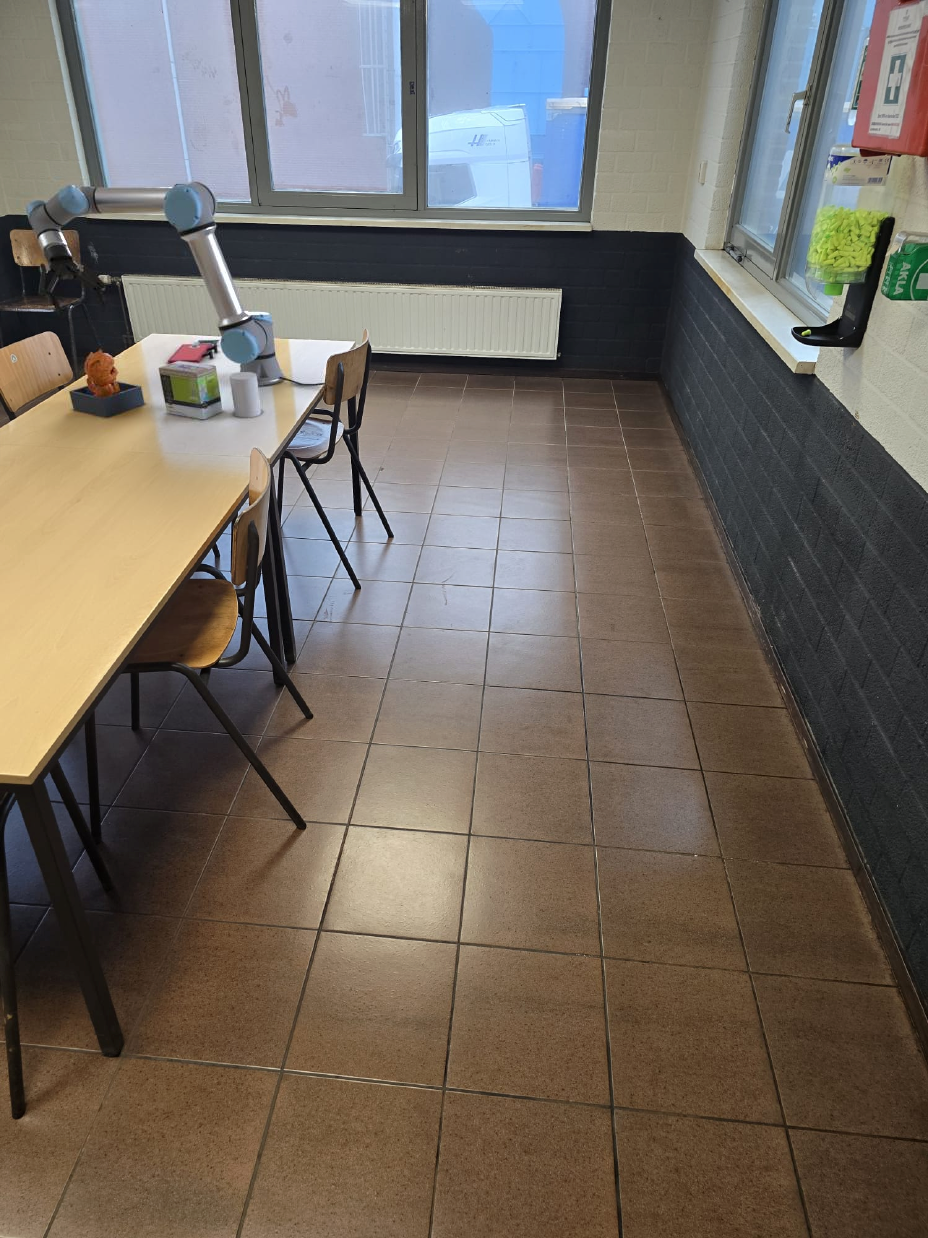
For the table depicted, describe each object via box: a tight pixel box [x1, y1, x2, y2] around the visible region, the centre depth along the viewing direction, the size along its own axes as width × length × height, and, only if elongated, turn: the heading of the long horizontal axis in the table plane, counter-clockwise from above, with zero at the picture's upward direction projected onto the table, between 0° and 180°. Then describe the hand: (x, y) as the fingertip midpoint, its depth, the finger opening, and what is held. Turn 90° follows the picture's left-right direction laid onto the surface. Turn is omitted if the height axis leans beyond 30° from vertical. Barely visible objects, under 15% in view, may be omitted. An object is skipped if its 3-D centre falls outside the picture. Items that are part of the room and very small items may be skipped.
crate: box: [68, 380, 146, 419], centre depth 269 cm, size 15×15×6 cm
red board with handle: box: [167, 339, 220, 364], centre depth 326 cm, size 30×3×15 cm
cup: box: [229, 371, 262, 418], centre depth 264 cm, size 8×8×12 cm
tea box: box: [158, 361, 223, 420], centre depth 263 cm, size 15×10×15 cm, turn 65°
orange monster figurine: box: [83, 348, 120, 398], centre depth 266 cm, size 11×11×18 cm
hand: (82, 311), depth 262 cm, fingers open, 13 cm apart
